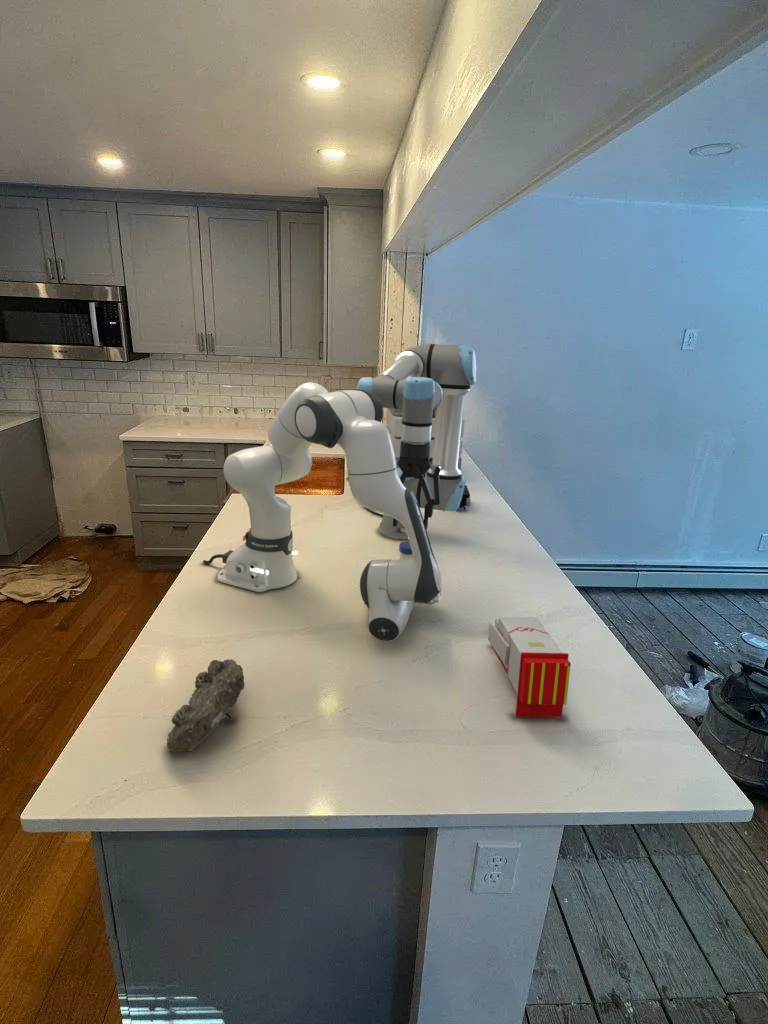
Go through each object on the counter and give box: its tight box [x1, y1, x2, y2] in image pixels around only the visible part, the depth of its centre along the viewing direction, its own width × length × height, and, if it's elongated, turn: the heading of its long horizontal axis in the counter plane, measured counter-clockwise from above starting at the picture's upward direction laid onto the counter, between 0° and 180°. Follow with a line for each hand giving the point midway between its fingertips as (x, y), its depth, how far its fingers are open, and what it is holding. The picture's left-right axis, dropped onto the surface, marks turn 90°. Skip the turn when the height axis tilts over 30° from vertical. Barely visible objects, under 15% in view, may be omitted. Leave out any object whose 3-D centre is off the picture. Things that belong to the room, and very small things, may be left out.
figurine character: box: [456, 484, 471, 512], centre depth 229 cm, size 7×8×15 cm
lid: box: [398, 540, 413, 555], centre depth 151 cm, size 5×5×2 cm
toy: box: [487, 616, 572, 718], centre depth 123 cm, size 12×13×30 cm
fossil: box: [166, 658, 245, 754], centre depth 106 cm, size 22×10×15 cm
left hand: (407, 574), depth 155 cm, fingers open, 8 cm apart
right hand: (410, 526), depth 149 cm, fingers open, 7 cm apart
